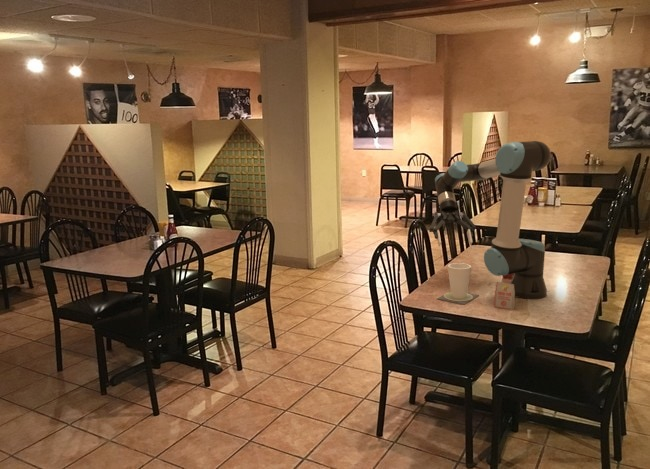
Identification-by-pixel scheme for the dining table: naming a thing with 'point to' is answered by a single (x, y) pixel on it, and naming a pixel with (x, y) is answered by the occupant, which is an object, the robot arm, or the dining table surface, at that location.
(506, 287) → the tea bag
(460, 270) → the foam cup
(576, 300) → the dining table surface
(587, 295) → the dining table surface
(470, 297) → the square coaster
